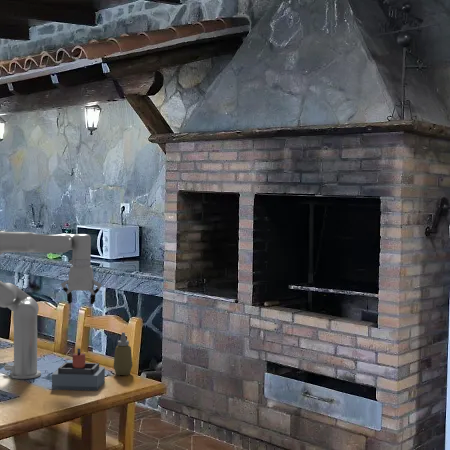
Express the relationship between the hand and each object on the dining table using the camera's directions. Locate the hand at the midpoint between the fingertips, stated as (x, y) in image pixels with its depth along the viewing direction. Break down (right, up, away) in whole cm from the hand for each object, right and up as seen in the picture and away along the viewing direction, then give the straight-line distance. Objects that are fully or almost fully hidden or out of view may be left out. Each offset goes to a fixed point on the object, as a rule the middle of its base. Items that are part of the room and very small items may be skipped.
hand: (81, 303), depth 300 cm
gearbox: (+2, -31, -16) cm, 35 cm away
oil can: (+2, -30, -16) cm, 34 cm away
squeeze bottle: (+17, -31, +2) cm, 35 cm away
